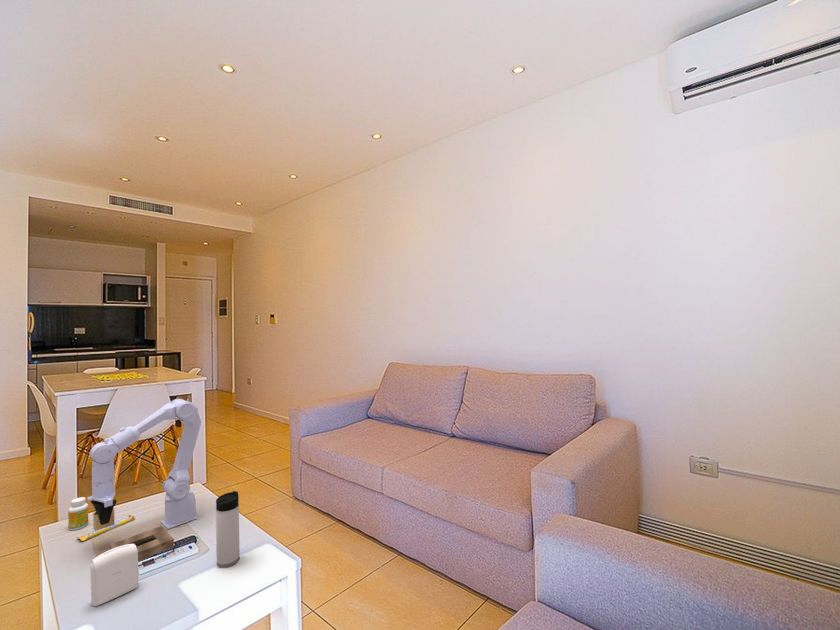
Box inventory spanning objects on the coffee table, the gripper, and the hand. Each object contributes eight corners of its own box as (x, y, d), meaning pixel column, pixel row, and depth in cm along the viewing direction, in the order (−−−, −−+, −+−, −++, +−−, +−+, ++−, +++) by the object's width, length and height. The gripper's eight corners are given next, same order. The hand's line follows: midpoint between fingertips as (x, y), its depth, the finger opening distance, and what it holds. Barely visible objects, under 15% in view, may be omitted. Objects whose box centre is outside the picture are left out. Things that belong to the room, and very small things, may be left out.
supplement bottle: (76, 531, 138) (76, 503, 138) (64, 529, 139) (64, 502, 139) (92, 523, 143) (91, 496, 143) (80, 522, 144) (80, 495, 144)
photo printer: (92, 609, 100) (92, 561, 100) (89, 601, 103) (88, 554, 103) (140, 587, 108) (140, 543, 108) (136, 581, 111) (135, 537, 111)
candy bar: (130, 518, 147) (130, 513, 147) (137, 520, 145) (136, 515, 145) (75, 541, 132) (75, 535, 132) (81, 544, 130) (81, 538, 130)
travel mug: (245, 556, 121) (244, 492, 121) (228, 569, 115) (227, 501, 115) (229, 553, 123) (228, 489, 123) (211, 565, 117) (210, 499, 117)
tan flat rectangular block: (112, 522, 130) (112, 506, 130) (114, 524, 128) (114, 509, 128) (93, 528, 126) (93, 512, 126) (95, 531, 125) (94, 515, 125)
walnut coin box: (161, 537, 133) (161, 525, 133) (174, 551, 125) (173, 538, 125) (110, 557, 122) (109, 544, 122) (119, 573, 114) (119, 559, 114)
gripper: (83, 478, 129) (83, 519, 129) (92, 490, 120) (92, 535, 120) (109, 471, 134) (110, 511, 134) (120, 483, 125) (121, 525, 125)
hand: (103, 521), depth 127 cm, fingers closed on tan flat rectangular block, 2 cm apart
